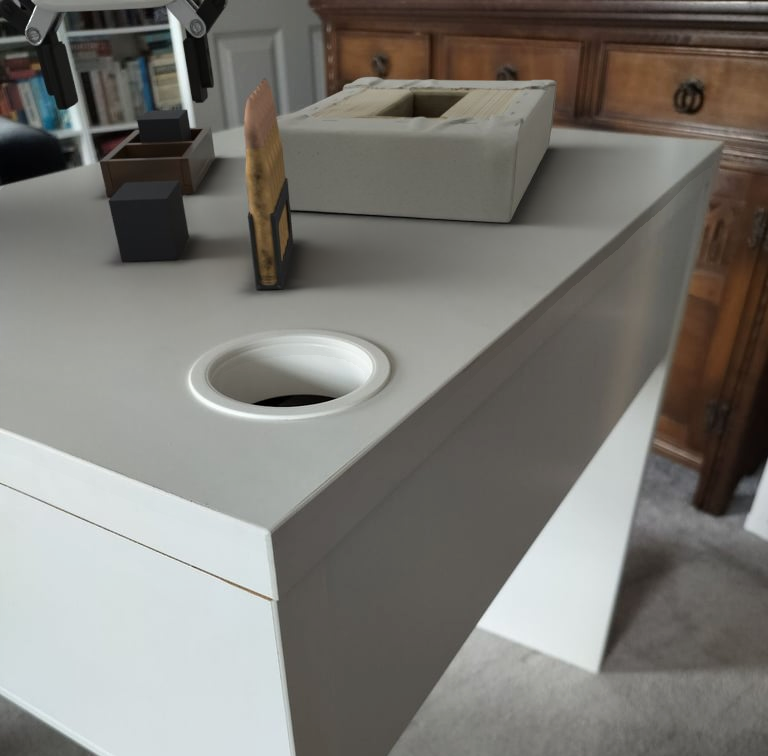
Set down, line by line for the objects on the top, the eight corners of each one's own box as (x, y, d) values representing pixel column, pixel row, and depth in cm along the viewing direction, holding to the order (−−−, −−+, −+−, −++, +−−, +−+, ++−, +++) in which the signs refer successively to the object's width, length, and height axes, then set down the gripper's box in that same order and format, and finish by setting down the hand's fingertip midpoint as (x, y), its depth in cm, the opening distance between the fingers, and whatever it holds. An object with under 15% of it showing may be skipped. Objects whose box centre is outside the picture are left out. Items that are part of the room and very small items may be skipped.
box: (517, 227, 66) (552, 146, 91) (523, 127, 62) (558, 70, 87) (263, 218, 72) (361, 144, 97) (252, 125, 67) (357, 72, 92)
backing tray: (107, 197, 77) (99, 161, 76) (141, 160, 91) (135, 129, 89) (193, 193, 78) (188, 158, 76) (215, 158, 91) (211, 127, 89)
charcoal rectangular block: (145, 166, 85) (136, 119, 82) (155, 155, 89) (147, 110, 86) (186, 165, 85) (178, 118, 82) (194, 154, 89) (187, 109, 87)
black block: (121, 261, 61) (108, 200, 58) (136, 240, 65) (124, 182, 63) (178, 259, 61) (167, 198, 58) (189, 238, 66) (179, 180, 63)
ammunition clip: (270, 243, 64) (253, 77, 57) (293, 243, 64) (278, 76, 57) (256, 290, 55) (232, 100, 48) (282, 289, 55) (262, 99, 48)
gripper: (-102, -218, 44) (-3, 118, 54) (206, -231, 44) (248, 105, 54) (-48, -197, 50) (32, 101, 60) (222, -209, 50) (257, 90, 60)
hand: (134, 103), depth 57 cm, fingers open, 9 cm apart
